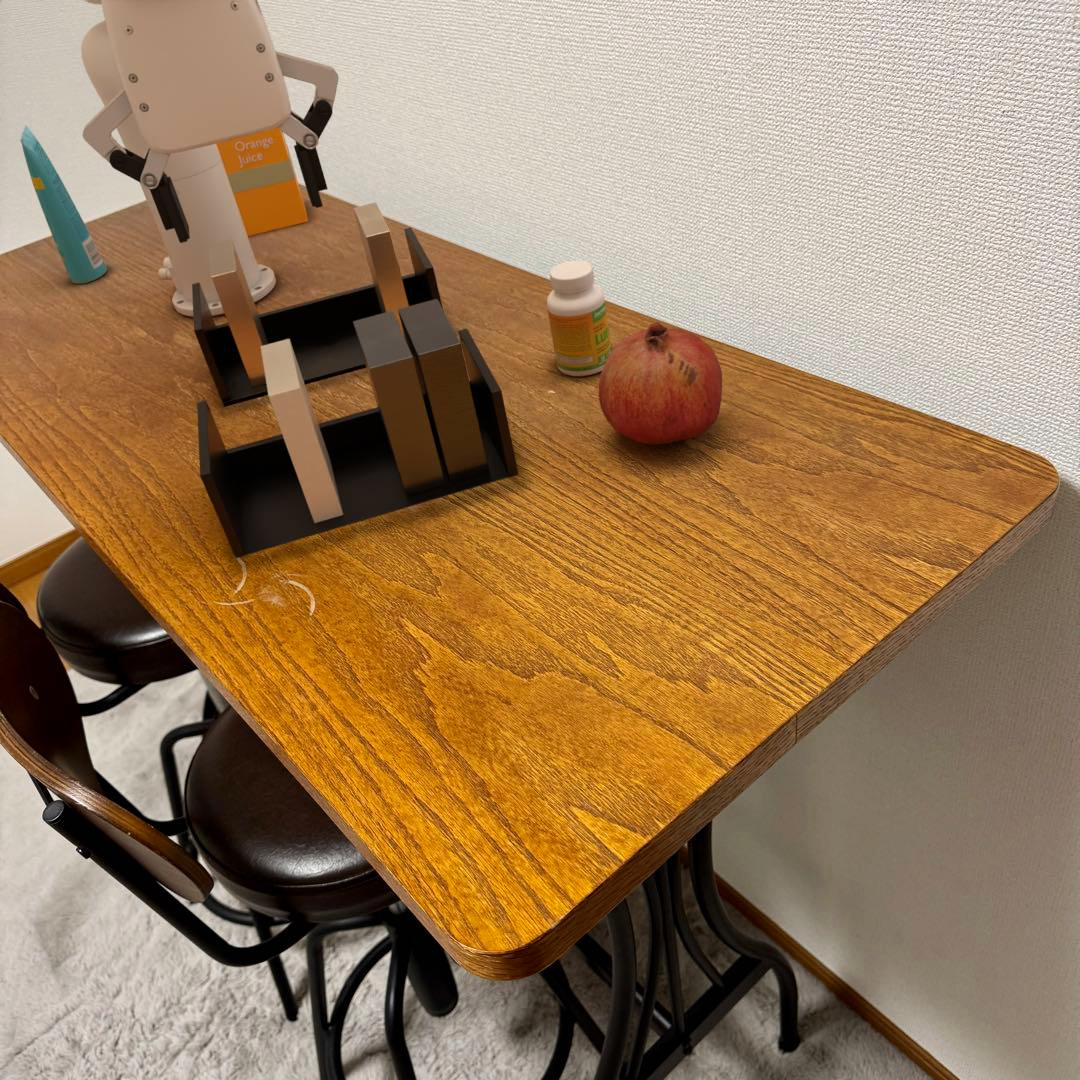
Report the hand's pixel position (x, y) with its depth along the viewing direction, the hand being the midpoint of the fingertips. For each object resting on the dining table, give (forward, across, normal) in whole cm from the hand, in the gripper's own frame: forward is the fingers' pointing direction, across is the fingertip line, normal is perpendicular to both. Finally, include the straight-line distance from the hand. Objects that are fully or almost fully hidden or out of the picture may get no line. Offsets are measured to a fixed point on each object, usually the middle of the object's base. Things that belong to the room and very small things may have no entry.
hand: (251, 218), depth 75 cm
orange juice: (+24, -1, -73) cm, 77 cm away
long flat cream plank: (+23, +2, +1) cm, 23 cm away
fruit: (+24, -28, +6) cm, 37 cm away
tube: (+24, +26, -70) cm, 78 cm away
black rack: (+24, -2, +1) cm, 24 cm away
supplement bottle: (+24, -25, -10) cm, 36 cm away
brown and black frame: (+24, -3, -26) cm, 36 cm away
